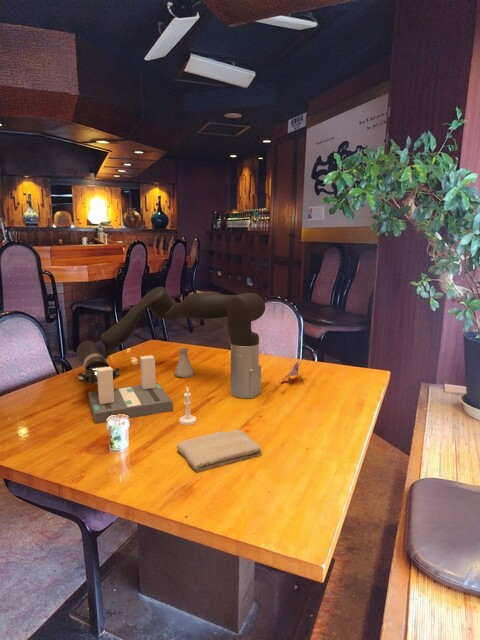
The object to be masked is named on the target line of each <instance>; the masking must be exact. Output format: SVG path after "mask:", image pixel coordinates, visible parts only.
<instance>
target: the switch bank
mask: <svg viewBox="0 0 480 640" xmlns="http://www.w3.org/2000/svg"><path fill="white" fill-rule="evenodd" d="M87 393H88V401H89V405H90V409H91V413H92V415H93V418H94V419H93V420H94V422H95V424H102V423H107V422H106V419H107V418H108V417H109V416H111V415H118V414H125V415H128V416H129V418H128V419H130V418H137V417H138V418H139V417H143V416H148V415H154V414H155V415H156V414H161V413H167V412H172V411H174V407H173V406H174V402H173V399H171V397H170V396H169V394H168V393H167V392H166V391H165V389H164V388H163V387H162V386H161V384H160V383H159V382H156V388H151V389H144V390H143V388H142V387H141V384H139V385H130V386H122V387H115V388H114V402H112V403H106V404H100V403H99V396H98V390H96V391H88V392H87Z"/></svg>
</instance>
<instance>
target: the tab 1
mask: <svg viewBox="0 0 480 640" xmlns="http://www.w3.org/2000/svg"><path fill="white" fill-rule="evenodd" d="M112 370H113V368H112V367H111V366H109V367H104V368H97V381H98V384H97V391H98V396H99V403H100V404H106V403H112V402H114V389H115V388H114V380H113V371H112Z"/></svg>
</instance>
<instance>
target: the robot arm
mask: <svg viewBox="0 0 480 640" xmlns="http://www.w3.org/2000/svg"><path fill="white" fill-rule="evenodd" d="M147 309H149V310H150V312H151V313H152V315H153V316H154V317H155V318H157V319H160V320H167V319H168V320H169V319H195V320H213V319H214V320H215V319H222V318H227V320H226V321H227V333H228V336H229V338H230V339H229V340H230V394H231V396H233V397H235V398H238V399H251V400H252V399H254V398H256V397H257V396H259V395H261V392H262V365H260V362H259V361H260V357H259V356H260V335H259V334H258V333H257V332H254V331H253V330H252V323H251V322H254V321H257V320H258V319H260V318H261V317H262V316H263V315H264V314H265V311H266V303H265V300H264V299H263V298H262V297H261V296H260V295H258V294H257V293H255V292H254V293H253V292H245V293H239V294H221V293H212V292H211V293H210V292H193V293H190V294H188V295H187V296H185V298H184V299H182V302H176V301H174V299H173V298H172V297H171V295H170V294H169V291H168V290H167V289H166V288H165V287H163V286H157V287H154V288H153V289H151V290H150V291H149V292H147V293H146V294H145V295H144V296H143V297H142V298H141V299H140V300H139V301H138V302H137V303H136V304H135V305H134V306H133V307H132V308H131V309H130V310H129V311H128V312H127V313H126V314H125V315H124V316H123V317H122V318H121V319H120V320H119V321H117V322H116V323H115V324H114V325H113V326H111V327H110V328H108V329H107V330H106V331H105V332H103V333H102V334H101V335H100V340H101V343H102V344H103V349H102V350H101V349H100V348H99V347H98V345H96V343H95V342H93V341H92V340H86V341H85V340H84V341H83V342H81V343H80V344H79V345H78V347H77V349H76V355H77V357H78V358H79V360H81V362H82V364H83V369H84V370H83V371H84V372H78V373H77V375H78V377H77V378H78V382H81V383H85V384H90V385H93V384H94V383H96V384H97V385H98V381H97V368H104V367H110V365H109V363H108V361H107V360H108V357H109V356H110V355H111V354H112V353H113V351H115V349H117V348H118V347H119V346H120V345H122V344H123V343H124V342H126V341H127V340H129V338H130V337H131V336H132V334H133V332H134V331H135V328H136V325H137V324H138V321H139V319H140V317H141V315H143V313H144V312H145V311H146V310H147ZM112 371H113V381H114V380H115V379H117V378H119V377H120V375H121V374H120V367H116V368H112Z"/></svg>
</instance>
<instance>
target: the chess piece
mask: <svg viewBox="0 0 480 640" xmlns="http://www.w3.org/2000/svg"><path fill="white" fill-rule="evenodd" d="M191 396H192V393H190V390H189V387H187V386H186V387H185V393H183V397H184V401H183V404H184V405H185V411H184V415H183V416H182V415H181V417H179V419H178V423H179V424H181V425H183V426H185V425H187V426H189V425H194V424H196V423H197V416H196V415H195V416H194V415H192V414H191V409H190V404H191V403H192V401H191Z"/></svg>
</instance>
